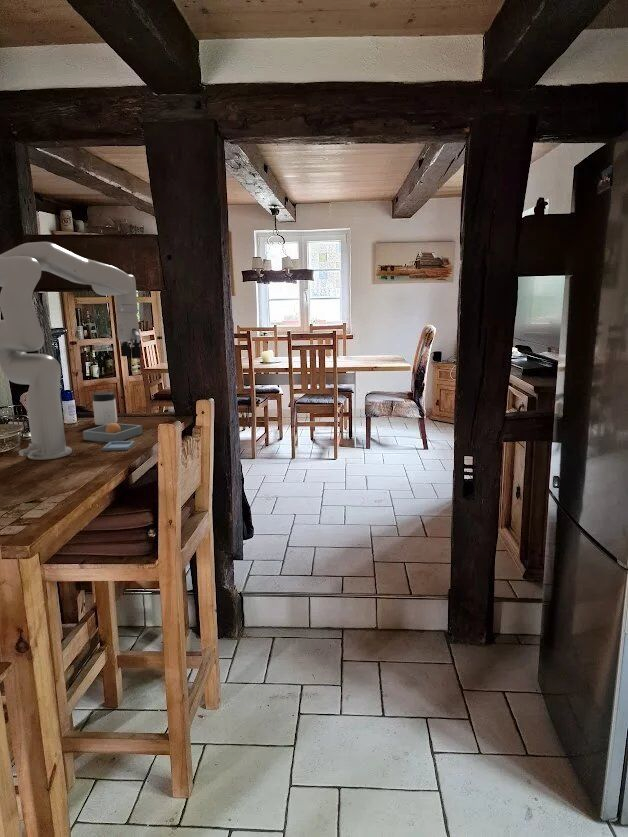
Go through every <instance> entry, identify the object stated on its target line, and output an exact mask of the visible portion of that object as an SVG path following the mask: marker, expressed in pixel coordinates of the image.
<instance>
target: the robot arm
mask: <svg viewBox="0 0 628 837" xmlns="http://www.w3.org/2000/svg"><path fill="white" fill-rule="evenodd" d="M42 271H43V272H48V273H50V274H53V275H55V276H58V277H60V278H62V279H64V280H66V281H67V280H68V281H69V282H72V283H75V284H81V285H90V286H91V289H92V290H93V291H94V292H95V293H96V294H97V295H100V296H106V297H107V296H108V297H110V296H111V297H112V296H114V302H115V312H116V313H115V314H116V332H117V333H116V334H117V340H118V341H119V345H120V353H121V354H120V356H121V357H130V356H131V359H139V358H141V357H142V354H141V352H142V351H141V334H140V327H139V320H138V314H139V309H138V308H139V307H138V296H137V295H138V294H137V284H136V278H135V275H133V274H128V273H126V272H125V271H123V270H121V269H119V268H118V267H115V266H113V265H109V264H106V263H103V262H99V261H97V260H94V259H93V260H92V259H90V258H85V257H83V256H80V255H78V254H76V253H74V252H72V251H69V250H67V249H66V248H64V247H61V246H59V245H57V244H56V243H54V242H50V241H37V242H36V241H34V242H26V243H23V244H19V245H18V246H15V247H13V248H12V249H9V250H6V251H4V252H3V253H1V254H0V287H1V290H0V311H1V314H2V318H3V319H0V368H1V370H2V373H3V375H5V377H6V378H7V380H9V381H10V382H11V383H14V384H17V385H29V387H28V391H27V392H26V400H25V401H26V409H27V416H28V424H29V425H28V426H29V431H30V440H31V442H30V443H28V447H26V448H23V449H19V451H18V455H19V456H20V457H24V456H27V458H28V459H30V460H36V461H37V460H38V461H45V460H54V459H60V458H63V457H66V456H69V455H70V454H72V453H73V451H72V450H73V449H72V448H71V447H70V446H67V445H66V444H67V443H66V435H65V428H64V427H65V426H64V418H63V411H62V401H61V400H62V399H61V378H62V368H61V364H60V363H59V360H57V359H56V358H55V357H53V356H52V355H50V354H46V353H29V352H35V351H38V350H40V349H41V348H42V347H43V346H44V345H45V344H44V343H45V336H44V333H43V330H42V328H41V327H42V326H41V325H40V321H39V318H38V316H37V313H36V311H35V307H34V303H33V293H34V290H35V288H36V286H37V284H38V283H39V281H40V279H41V276H42ZM129 343H130V344H131V347H130V345H129Z"/></svg>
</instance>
